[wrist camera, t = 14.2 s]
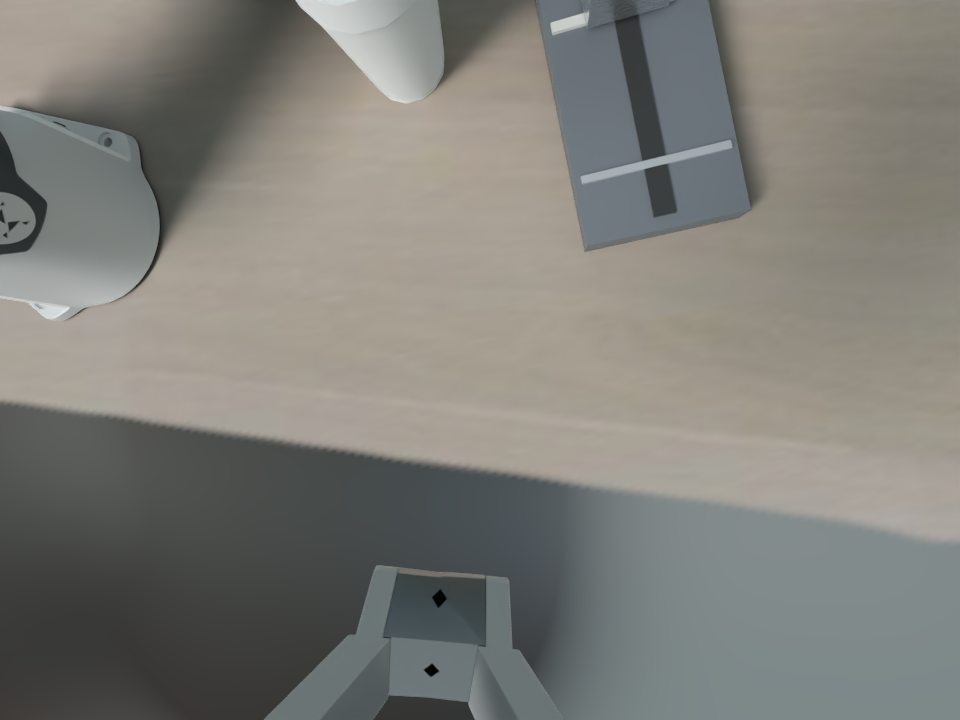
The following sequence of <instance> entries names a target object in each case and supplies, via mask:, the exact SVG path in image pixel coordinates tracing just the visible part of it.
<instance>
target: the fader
mask: <svg viewBox="0 0 960 720" xmlns="http://www.w3.org/2000/svg"><path fill="white" fill-rule="evenodd" d="M581 2H582V7H583V12H584V17H585V22H586V27H587V29H589V28H593V27H596V26H600V25H603V24H607V23H610V22H614V21H617V20H621V19H624V18H628V17H631V16H635V15H638V14H642V13H645V12H649V11H652V10H656V9H659V8H663V7H666V6H669V3H670V0H581Z"/></svg>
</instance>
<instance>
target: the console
mask: <svg viewBox="0 0 960 720" xmlns="http://www.w3.org/2000/svg"><path fill="white" fill-rule="evenodd" d="M535 3H536V8H537V13H538V18H539V23H540V28H541V33H542V38H543V43H544V48H545V53H546V58H547V63H548V68H549V73H550V78H551V83H552V89H553V94H554V99H555V104H556V109H557V114H558V119H559V124H560V129H561V134H562V139H563V144H564V149H565V154H566V159H567V164H568V170H569V175H570V180H571V185H572V190H573V195H574V200H575V205H576V210H577V215H578V220H579V225H580V230H581V235H582V240H583V245H584V250H585V252H587V251H591V250H596V249H600V248H605V247H609V246H614V245H618V244H623V243H627V242H632V241H636V240H641V239H645V238H650V237H654V236H659V235H664V234H668V233H673V232H677V231H682V230H686V229H691V228H695V227H700V226H704V225H709V224H713V223H718V222H722V221H727V220H731V219H736V218H740V217H741V216H742V215H744V214H745V213H747V212H748V211H750V210H751V207H750V202H749V197H748V192H747V187H746V183H745V178H744V173H743V168H742V163H741V158H740V153H739V148H738V143H737V139H736V134H735V129H734V124H733V119H732V114H731V109H730V104H729V99H728V94H727V90H726V85H725V80H724V75H723V70H722V65H721V60H720V55H719V50H718V45H717V41H716V36H715V31H714V26H713V21H712V16H711V11H710V6H709V1H708V0H670V3H669V6H666V7H663V8H659V9H656V10H652V11H649V12H645V13H642V14H638V15H635V16H631V17H628V18H624V19H621V20H617V21H614V22H610V23H607V24H603V25H600V26H596V27H593V28H589V29H587V27H586V22H585V17H584V12H583V7H582V2H581V0H535Z"/></svg>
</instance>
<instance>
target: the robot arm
mask: <svg viewBox="0 0 960 720" xmlns="http://www.w3.org/2000/svg"><path fill="white" fill-rule="evenodd" d="M159 229H160V222H159V212H158V207H157V203H156V199H155V197H154V194H153V192H152V189H151V187H150V185H149V184H148V182H147V180H146V178H145V176H144V174H143V172H142V169H141V161H140V153H139V147H138V144H137V142H136V140H135V139H134V138H133V137H132V136H130V135H127V134H125V133H122V132H120V131H115V130H111V129H107V128H102V127H98V126H93V125H89V124H84V123H80V122H75V121H71V120H67V119H62V118H58V117H53V116H49V115H44V114H40V113H35V112H31V111H27V110H22V109H18V108H13V107H9V106H0V298H3V299H9V300H16V301H22V302H27V303H28V304H30V305H31V306H32V307H33V308H34V309H35V310H37V311H38V312H39V313H40V314H41V315H42V316H44V317H45V318H47V319H50V320H56V321H64V320H67V319H69V318H70V317H72V316H73V315H75V314H76V313H78V312H79V311H80V310H82V309H83V308H86V307H90V306H95V305H101V304H105V303H109V302H112V301H114V300H116V299H118V298H120V297H122V296H124V295H125V294H127V293H128V292H129V291H131V290H132V289H133V288H134V287H135V286H136V285H137V284H138V283H139V282H140V280H141V279H142V278H143V276H144V275H145V274H146V272H147V270H148V269H149V267H150V265H151V263H152V261H153V258H154V255H155V252H156V249H157V245H158V239H159ZM388 695H394V696H414V697H430V698H438V699H447V700H456V701H464V702H469V706H470V709H471V711H472V714H473V716H474V718H475V720H564V719H563V717H562V716H561V714H560V713H559V712H558V710H557V708H556V707H555V705H554V703H553V702H552V700H551V699H550V697H549V696H548V694H547V693H546V691H545V690H544V688H543V687H542V685H541V683H540V682H539V680H538V679H537V677H536V676H535V674H534V672H533V671H532V669H531V668H530V666H529V665H528V663H527V661H526V660H525V659H524V657H523V655H522V654H521V652H520V651H519V650H515V649H512V633H511V611H510V592H509V581H508V578H504V577H494V576H485V575H477V574H464V573H451V572H442V573H441V572H433V571H424V570H416V569H408V568H398V567H389V566H380V565H377V566H376V568H375V570H374V572H373V575H372V579H371V582H370V586H369V590H368V593H367V597H366V600H365V604H364V607H363V611H362V615H361V618H360V622H359V625H358V629H357V633H356V635H348V636H347V637H346V638H345V639H344V640H343V641H342V642H341V643H340V644H339V645H338V646H337V647H336V648H335V649H334V650H333V651H332V652H331V653H330V654H329V655H328V656H327V657H326V658H325V659H324V660H323V661H322V662H321V663H320V664H319V665H318V666H317V667H316V668H315V669H314V670H313V671H312V672H311V673H310V674H309V675H308V676H307V677H306V678H305V679H304V680H303V681H302V682H301V683H300V684H299V685H298V686H297V687H296V688H295V689H294V690H293V691H292V692H291V693H290V694H289V695H288V696H287V697H286V698H285V699H284V700H283V701H282V702H281V703H280V704H279V705H278V706H277V707H276V708H275V709H274V710H273V711H272V712H271V713H270V714H269V715H268V716H267V717H266V718H265V719H264V720H373V718H374V717H375V716H376V714H377V713H378V712H379V710H380V709H381V707H382V706H383V704H384V703H385V702H386V700H387V699H388Z"/></svg>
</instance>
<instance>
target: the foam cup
mask: <svg viewBox="0 0 960 720" xmlns="http://www.w3.org/2000/svg"><path fill="white" fill-rule="evenodd" d="M296 2H297V3H298V5H299V6H300V7H301V8H302V9H303V10H304V11H305V12H306V13H307V14H308V15H310V16H311V17H312V18H313V19H314V20H315V21H316V22H318V23H319V24H320V25H321V26H322V27H323V28H324V29H325V30H326V32H327V33H328V34H329V35H330V36H331V37H332V38H333V39H334V40H335V41H336V43H337V44H338V45H339V46H340V47H341V48H342V49H343V50H344V51H345V52H346V54H347V55H348V56H349V57H350V58H351V59H352V60H353V61H354V62H355V64H356V65H357V66H358V67H359V68H360V69H361V70H362V71H363V72H364V73H365V75H366V76H367V77H368V78H369V79H370V80H371V81H372V82H373V83H374V85H375V86H376V87H378V88H379V90H380V91H381V92H383V93H384V94H385V95H386V96H387V97H388V98H389V99H391V100H393V101H398V102H402V103H406V104H407V103H411V102H415V101H419V100H423V99H424V98H425V97H426V96H428V95H429V94H430V93H431V92H433V91H434V90H435V89H436V87H437V86H438V84H439V82H440V80H441V78H442V76H443V74H444V60H445V57H444V46H443V38H442V30H441V22H440V14H439V6H438V0H296Z"/></svg>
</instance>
